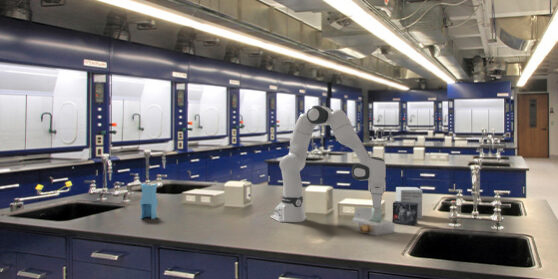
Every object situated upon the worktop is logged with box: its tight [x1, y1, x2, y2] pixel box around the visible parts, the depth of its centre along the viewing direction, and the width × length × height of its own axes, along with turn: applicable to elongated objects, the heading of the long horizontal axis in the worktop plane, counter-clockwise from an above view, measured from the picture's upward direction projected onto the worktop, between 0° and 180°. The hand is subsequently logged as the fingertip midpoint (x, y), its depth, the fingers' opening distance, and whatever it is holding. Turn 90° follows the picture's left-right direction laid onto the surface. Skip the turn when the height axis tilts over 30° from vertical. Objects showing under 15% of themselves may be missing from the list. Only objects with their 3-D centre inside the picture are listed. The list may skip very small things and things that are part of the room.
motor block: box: [358, 219, 395, 237], centre depth 239 cm, size 12×17×6 cm
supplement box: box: [395, 186, 423, 220], centre depth 280 cm, size 13×13×18 cm
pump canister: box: [371, 207, 382, 222], centre depth 240 cm, size 5×5×8 cm
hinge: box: [351, 206, 383, 224], centre depth 261 cm, size 17×5×10 cm, turn 52°
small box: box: [391, 200, 418, 226], centre depth 261 cm, size 13×7×12 cm, turn 62°
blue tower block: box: [139, 183, 159, 220], centre depth 272 cm, size 8×8×20 cm
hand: (376, 214), depth 240 cm, fingers open, 8 cm apart
